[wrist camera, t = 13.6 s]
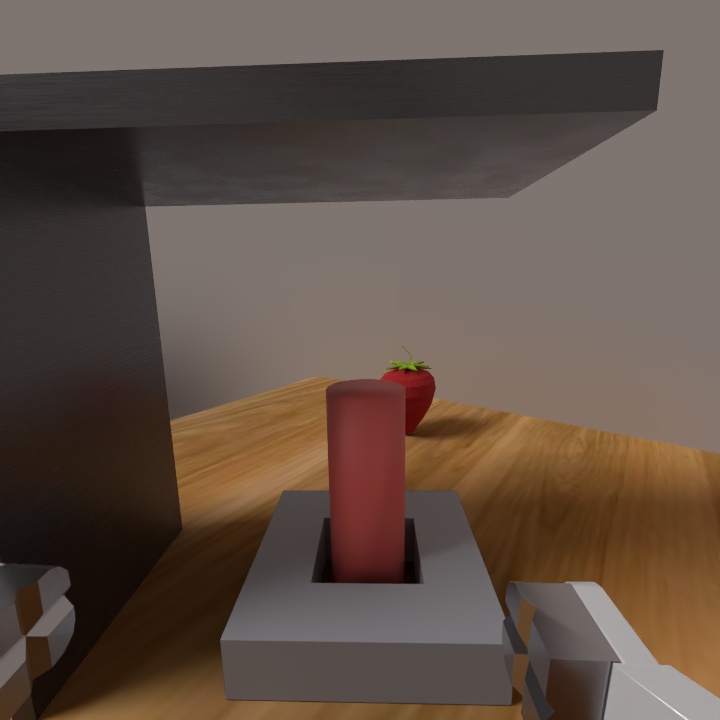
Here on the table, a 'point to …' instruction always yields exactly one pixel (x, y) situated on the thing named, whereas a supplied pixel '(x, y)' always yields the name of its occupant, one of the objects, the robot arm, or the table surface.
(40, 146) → the canopy
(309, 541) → the socket block
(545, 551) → the table surface
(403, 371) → the strawberry
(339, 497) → the peg
